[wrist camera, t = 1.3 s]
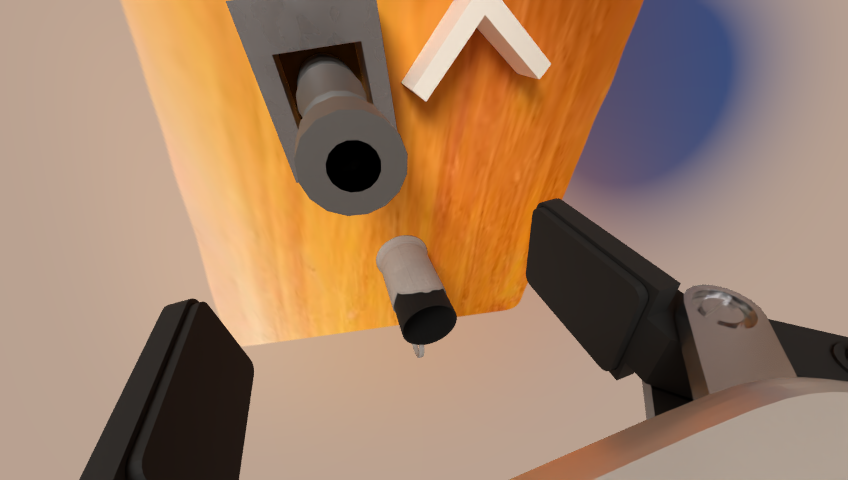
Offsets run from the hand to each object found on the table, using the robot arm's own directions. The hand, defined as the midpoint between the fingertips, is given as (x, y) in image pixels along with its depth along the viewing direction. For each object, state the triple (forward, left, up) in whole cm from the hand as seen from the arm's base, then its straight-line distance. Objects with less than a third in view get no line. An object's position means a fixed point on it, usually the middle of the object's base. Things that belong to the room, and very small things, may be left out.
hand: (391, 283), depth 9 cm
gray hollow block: (0, 0, -34) cm, 34 cm away
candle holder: (0, 0, -34) cm, 34 cm away
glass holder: (+30, +4, -34) cm, 46 cm away
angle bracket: (-2, +17, -34) cm, 38 cm away
